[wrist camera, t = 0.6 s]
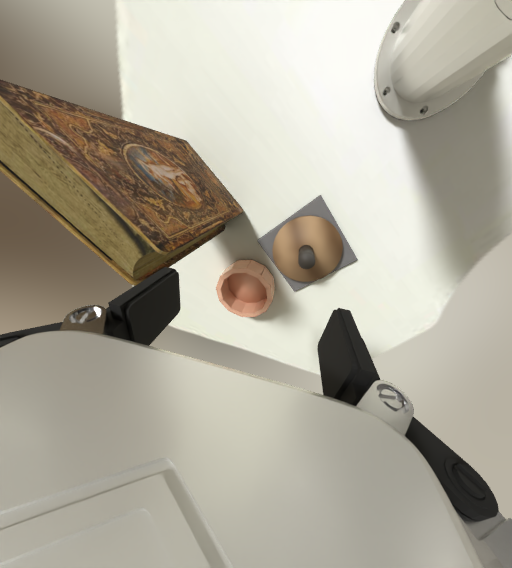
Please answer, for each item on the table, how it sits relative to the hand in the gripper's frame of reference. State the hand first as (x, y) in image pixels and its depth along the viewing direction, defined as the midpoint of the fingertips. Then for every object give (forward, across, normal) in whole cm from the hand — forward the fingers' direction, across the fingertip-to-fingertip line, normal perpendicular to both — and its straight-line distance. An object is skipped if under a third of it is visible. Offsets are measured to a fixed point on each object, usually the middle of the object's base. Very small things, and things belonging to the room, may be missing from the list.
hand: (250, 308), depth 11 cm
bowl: (+29, +4, +15) cm, 33 cm away
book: (+29, +16, -4) cm, 33 cm away
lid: (+28, -6, +4) cm, 29 cm away
